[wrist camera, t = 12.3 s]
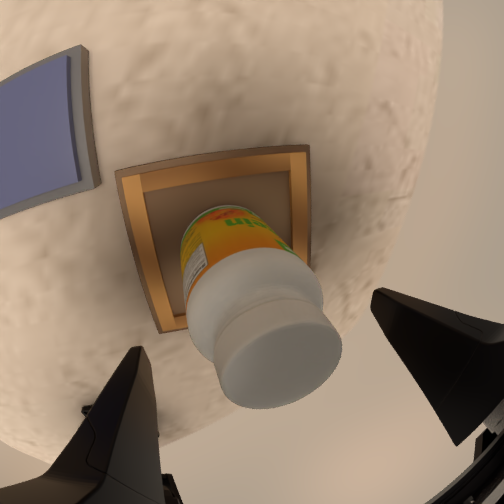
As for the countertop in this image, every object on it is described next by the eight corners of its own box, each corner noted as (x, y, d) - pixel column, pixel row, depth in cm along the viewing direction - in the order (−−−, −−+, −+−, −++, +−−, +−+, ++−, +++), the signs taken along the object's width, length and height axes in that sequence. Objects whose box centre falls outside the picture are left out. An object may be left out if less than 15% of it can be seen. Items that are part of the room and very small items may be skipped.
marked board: (306, 298, 20) (310, 303, 19) (159, 330, 18) (159, 336, 17) (306, 144, 15) (311, 145, 15) (115, 170, 13) (113, 172, 12)
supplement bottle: (283, 222, 16) (389, 316, 8) (246, 295, 18) (307, 418, 9) (200, 189, 14) (243, 276, 6) (167, 273, 16) (175, 415, 7)
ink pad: (101, 183, 13) (91, 190, 11) (0, 216, 11) (-15, 226, 10) (88, 50, 9) (77, 41, 8) (-15, 100, 8) (-32, 99, 6)
